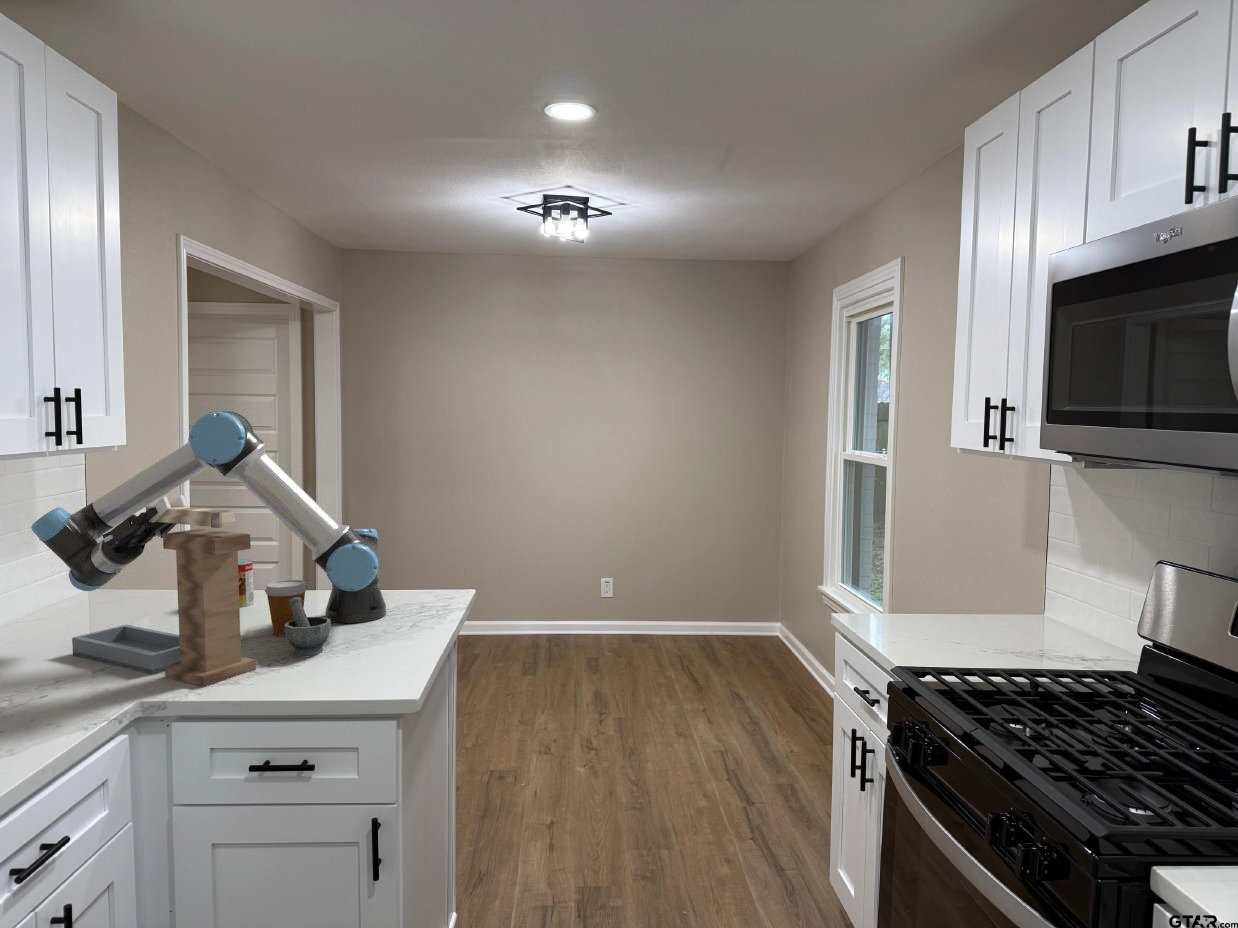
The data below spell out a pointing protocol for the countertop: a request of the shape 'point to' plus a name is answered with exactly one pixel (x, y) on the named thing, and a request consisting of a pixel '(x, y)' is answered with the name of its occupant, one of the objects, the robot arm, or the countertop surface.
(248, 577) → the canned food
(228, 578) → the post stand
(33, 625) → the countertop surface
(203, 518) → the bar
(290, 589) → the disposable coffee cup
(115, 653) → the tray
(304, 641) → the mortar and pestle
